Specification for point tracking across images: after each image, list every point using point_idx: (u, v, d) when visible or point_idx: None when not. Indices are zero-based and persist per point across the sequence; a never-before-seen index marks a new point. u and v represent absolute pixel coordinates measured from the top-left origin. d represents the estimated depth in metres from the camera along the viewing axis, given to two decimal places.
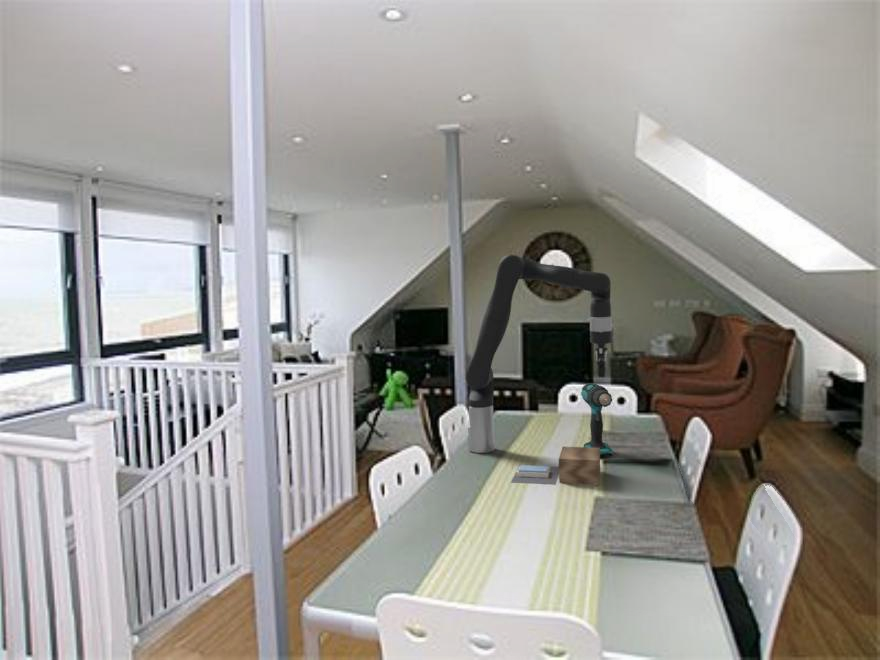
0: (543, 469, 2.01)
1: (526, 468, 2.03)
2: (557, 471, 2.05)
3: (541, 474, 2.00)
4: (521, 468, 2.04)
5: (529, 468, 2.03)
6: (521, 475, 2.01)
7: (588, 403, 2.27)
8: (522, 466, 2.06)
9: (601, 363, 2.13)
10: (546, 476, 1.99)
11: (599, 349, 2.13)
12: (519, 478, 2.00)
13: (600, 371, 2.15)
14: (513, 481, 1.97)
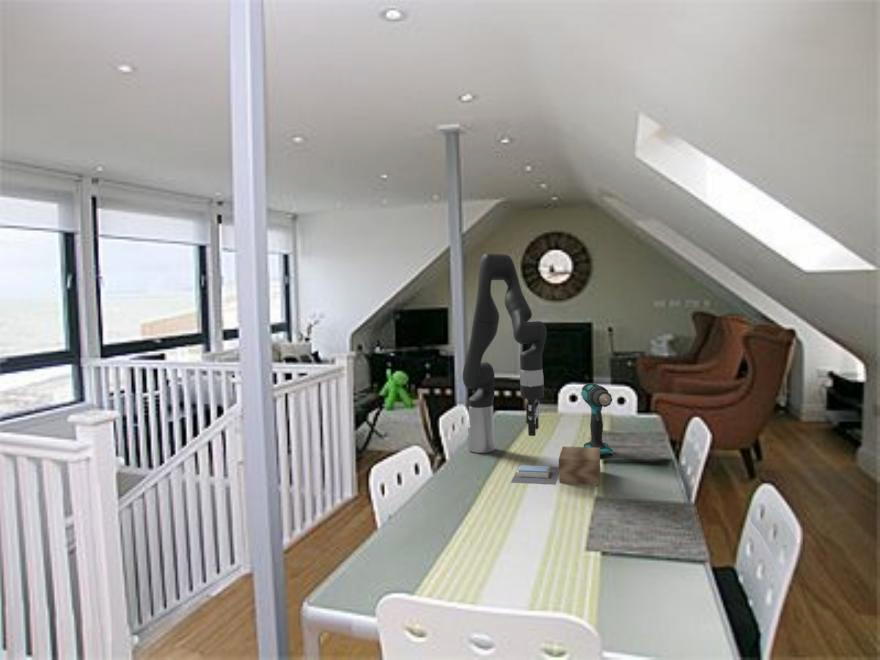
0: (543, 469, 2.01)
1: (526, 468, 2.03)
2: (557, 471, 2.05)
3: (541, 474, 2.00)
4: (521, 468, 2.04)
5: (529, 468, 2.03)
6: (521, 475, 2.01)
7: (588, 403, 2.27)
8: (522, 466, 2.06)
9: (530, 421, 1.95)
10: (546, 476, 1.99)
11: (528, 406, 1.95)
12: (519, 478, 2.00)
13: (530, 429, 1.97)
14: (513, 481, 1.97)
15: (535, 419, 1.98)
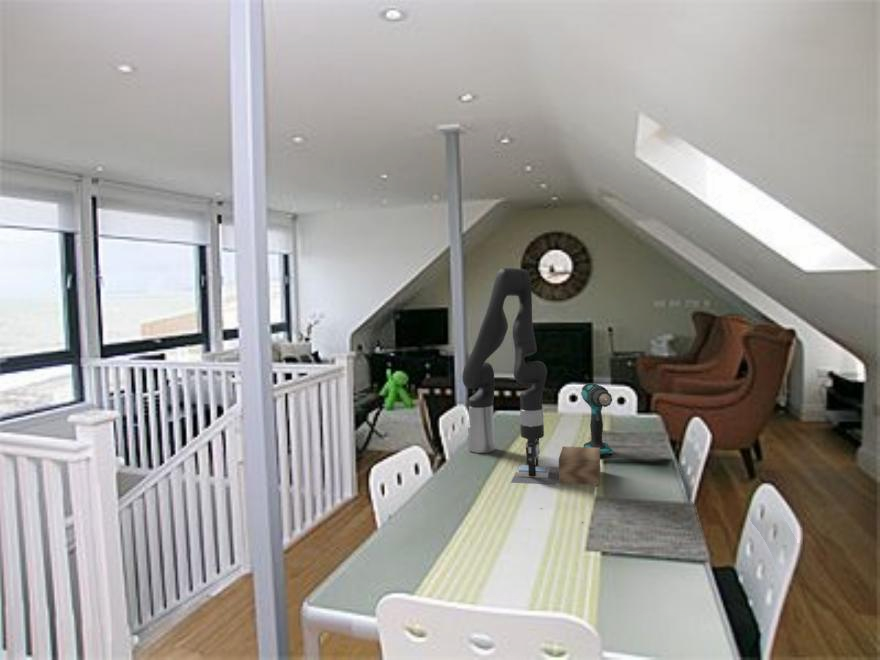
0: (543, 469, 2.01)
1: (526, 468, 2.03)
2: (557, 471, 2.05)
3: (541, 474, 2.00)
4: (521, 468, 2.04)
5: None
6: (521, 475, 2.01)
7: (588, 403, 2.27)
8: (522, 466, 2.06)
9: (530, 462, 1.97)
10: (546, 476, 1.99)
11: (528, 449, 1.96)
12: (519, 478, 2.00)
13: (530, 470, 1.99)
14: (513, 481, 1.97)
15: (535, 459, 2.00)
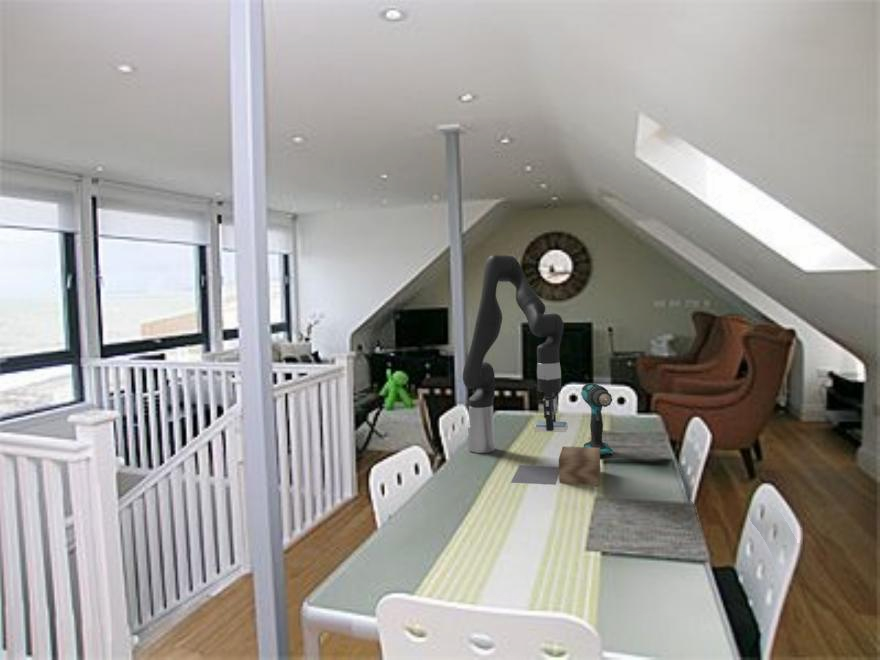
0: (561, 424, 1.98)
1: (543, 423, 2.00)
2: (557, 471, 2.05)
3: (559, 428, 1.96)
4: (538, 423, 2.00)
5: None
6: (538, 430, 1.98)
7: (588, 403, 2.27)
8: (539, 422, 2.02)
9: (548, 416, 1.94)
10: (564, 430, 1.96)
11: (545, 402, 1.93)
12: (519, 478, 2.00)
13: (548, 424, 1.96)
14: (513, 481, 1.97)
15: (553, 413, 1.96)
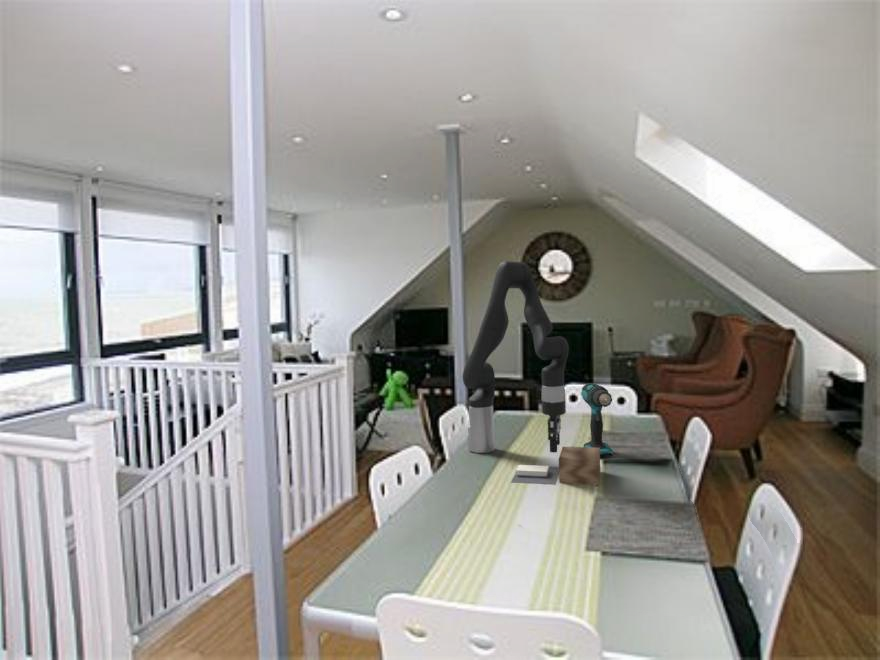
0: None
1: None
2: (557, 471, 2.05)
3: (522, 473, 2.01)
4: None
5: None
6: (542, 472, 2.00)
7: (588, 403, 2.27)
8: None
9: (552, 438, 1.93)
10: (517, 471, 2.02)
11: (550, 422, 1.93)
12: (519, 478, 2.00)
13: (552, 446, 1.95)
14: (513, 481, 1.97)
15: (557, 435, 1.96)
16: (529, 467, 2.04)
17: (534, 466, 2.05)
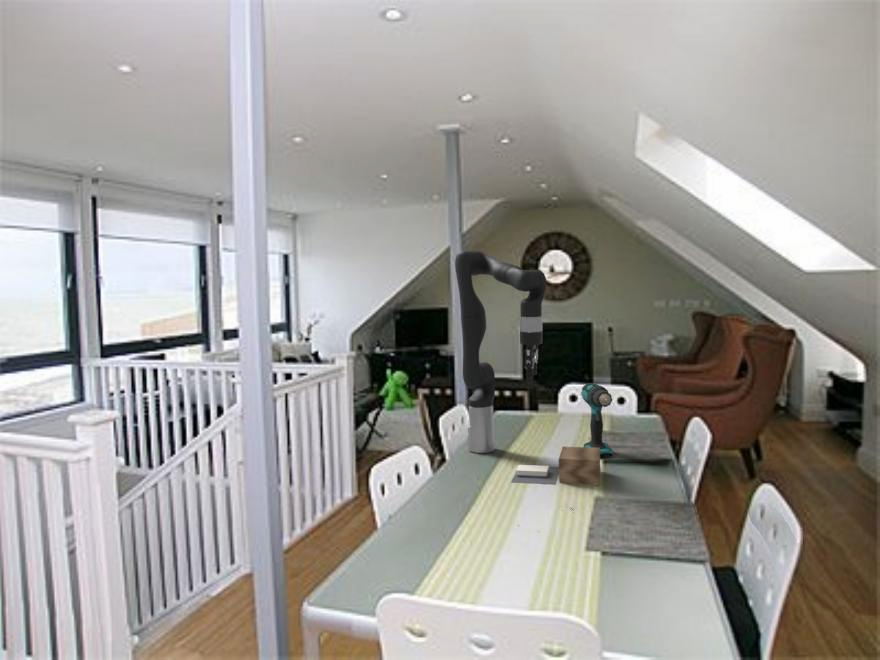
0: None
1: None
2: (557, 471, 2.05)
3: (522, 473, 2.01)
4: None
5: None
6: (542, 472, 2.00)
7: (588, 403, 2.27)
8: None
9: (528, 365, 2.03)
10: (517, 471, 2.02)
11: (526, 351, 2.03)
12: (519, 478, 2.00)
13: (528, 374, 2.05)
14: (513, 481, 1.97)
15: (533, 364, 2.06)
16: (529, 467, 2.04)
17: (534, 466, 2.05)
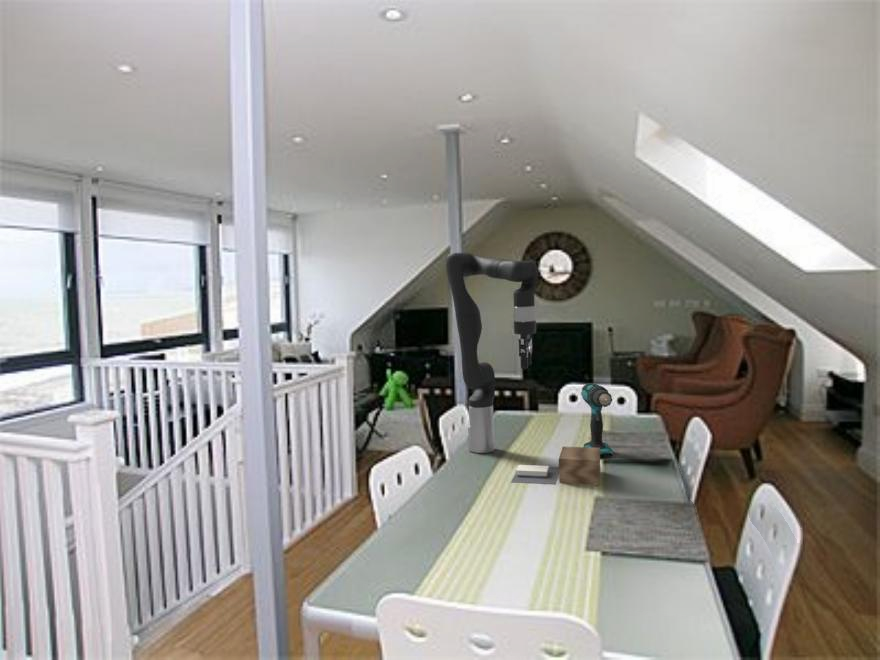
0: None
1: None
2: (557, 471, 2.05)
3: (522, 473, 2.01)
4: None
5: None
6: (542, 472, 2.00)
7: (588, 403, 2.27)
8: None
9: (522, 354, 2.06)
10: (517, 471, 2.02)
11: (521, 340, 2.06)
12: (519, 478, 2.00)
13: (522, 363, 2.08)
14: (513, 481, 1.97)
15: (527, 353, 2.09)
16: (529, 467, 2.04)
17: (534, 466, 2.05)
